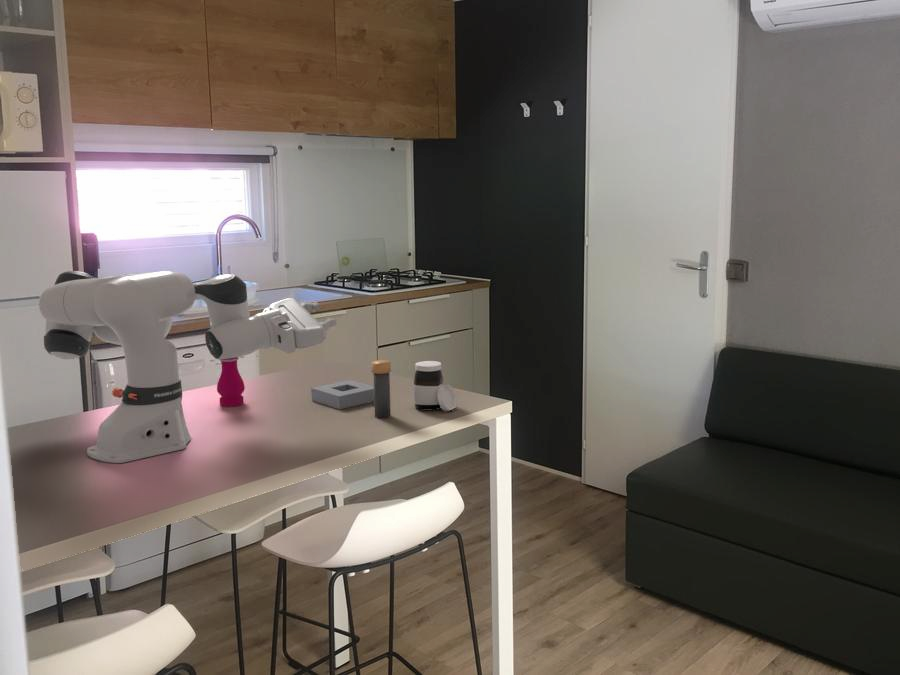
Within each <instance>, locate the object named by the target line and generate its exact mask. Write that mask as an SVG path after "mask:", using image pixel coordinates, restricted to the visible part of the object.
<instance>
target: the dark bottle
mask: <svg viewBox="0 0 900 675" xmlns="http://www.w3.org/2000/svg"><path fill="white" fill-rule="evenodd" d="M391 368H392V362H391V361H390V360H388V359H387V360H386V359H379V360H374V361H372V362H371V373H373V386H374V405H373V406H374V417H375V418H376V417H377V418H376V419H387V418H386V417H389V416H390V415H391V416H392V414H391V385H390V384H391V383H390V382H391V379H390V376H391V375H390V373H391V372H392V369H391ZM391 416H390V417H391ZM390 417H389V418H390Z"/></svg>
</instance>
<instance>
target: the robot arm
mask: <svg viewBox="0 0 900 675" xmlns="http://www.w3.org/2000/svg"><path fill="white" fill-rule="evenodd" d="M247 293H248V291H247V284H246V282H244V280H242V279H241V278H240V277H238V276H237V275H235V274H233V273H226V274H225V273H224V274H220V275H216V276H213V277H210V278H206V279H201V280H195V281H192V280H191V279H190V278H189V277H188V275H186V274H184V273H182V272H179V271H178V272H176V271H169V270H168V271H167V270H160V271H149V272H141V273H132V274H124V275H113V276H112V275H111V276H104V277H95V276H93V275H91V274H89V273H87V272H85V271H84V272H83V271H81V270H80V271H78V270H74V271H73V270H72V271H71V270H70V271H64V272H61V273H60V274H59V275H57V278H56V280H55V282H54V285H51V286H48V287H47V288H46V289H45V290H44V291H42V293H41V294H40V297H39V300H38V301H39V302H38V307H39V311H40V313H41V316H42V317H43V319H45V320H46V321H45V335H44V336H43V346H44V350H45V351H46V352H47V353H48V354H49V355H51V356H54V357H55V358H58V359H60V360H68V361H69V360H75V359H81V358H83V357H85V356H86V355H87V353H88V352H89V350H90V347H91V344H92V343H91V341H92V340H91V339H92V336H93V334H94V335H95V336H96V337H97V338H98V339H99V340H100V341H101V342H104V343H110V344H114V345H119V346H121V347H122V349H123V354H124V360H125V368H126V369H125V370H126V377H127V383H126V386H125V388H124V389H122V388H119V387H114V388H113V389H112V391H111V395H112V396H113V397H115V398H118V399H119V398H121V403H120V404H118V406H117V407H116V408H115V409H114V410H113V411H112V412H111V413H110V414H109V415H108V416H107V417H106V418H105V419H104V420H103V421H102V422H101V423H100V424H99V426H98V430H97V437H96V439H97V440H96V444H94V445H92V446H89V447H87V449H86V455H87V456H89V457H90V458H92V459H94V460H97V461H101V462H104V463H113V464H121V463H122V464H123V463H128V462H132V461H136V460H141V459H146V458H151V457H154V456H158V455H163V454H167V453H171V452H175V451H180V450H181V451H182V450H184V449H186V448H187V444H188V443H189V442H190V441H191V440H192V437H191V434H190V432H189V430H188V426H187V423H186V419H185V418H186V417H185V415H184V410H183V405H182V404H183V403H182V399H183V388H182V380H181V379H180V374H179V373H180V372H179V363H178V350H177V347H176V345H175V344H174V343H173V342H172V341H170V340H168V339H166V337H167V336H168V334H169V332H170V330H171V328H172V325H173V322H174V321H173V320H174V318H177V317H178V316H180V315H183V313H186V312H187V311H189V310H190V309H191V308H192V307H193V306H194V304H195V301H197V300H202V301H203V302H204V303H205V305H206V307H207V312H208V317H209V322H210V324H209V325H210V328H209V329H208V330H206V332H205V335H204V337H205V344H206V348H207V349H208V351H209V353H210V355H211V356H212V357H213V358H214V359H215V360H219V359H229V358H235V357H238V358H240V357H243V356H247V355H251V354H254V353H255V352H256V351H258V350H268V349H272V348H274V349H277V350H280V351H282V352H284V353H286V354H293V353H295V352H296V349H298V350H301V349H302V350H303V349H307V348H311V347H313V346H317V345H319V344H323V342H324V341H326V340H327V339H326V338H327V335H326V332H327V330H329V328H331V327H335V326H336V325H337V320H336V319H335V317H333V316H331V317H327V318H326V320H325V321H324V322H323V321H318V320H317V319H316V318H315V316H313V315H312V314H311V313H310V312H311V311H313V312H315V313H316V312H317V311H318V312H319V311H320V310H321V305H320V303H319V302H317V301H316V302H312V303H311V302H302V303H301V302H299V301H298V300H297V299H296V298H294V297H289V298H288V297H287V298H284V299H281V300H278V301H275V302H273V303H270V305H269V306H267V307H266V308H265V307H264V308H263V309H264V310H263V311H262V312H259V313H258V312H257V313H256V314H254V315H252V316H251V314H250V308H249V303H248V294H247Z"/></svg>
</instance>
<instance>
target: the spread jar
mask: <svg viewBox="0 0 900 675" xmlns="http://www.w3.org/2000/svg"><path fill="white" fill-rule="evenodd" d="M414 365H415V367H414V368H415V372H414V375H413V403H414V407H415V408H416V409H417V408H419V409H418V410H420V409H437V408H440V407H441V408H440V409H441V410H443V411H445V412H451V411H450V410H449V408H452V409H453V408H455V409H456V407H457V405H458V404H457V403H458V398H457V394H456V391H455V389H454V388H453V387H452V385H449V384H444V373H443V371H442V363H441V362H440V361H436V360H435V361H434V360H425V361H419V362H418V361H417V362H416V363H415V364H414ZM437 410H438V409H437Z"/></svg>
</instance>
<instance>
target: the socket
mask: <svg viewBox="0 0 900 675" xmlns="http://www.w3.org/2000/svg"><path fill="white" fill-rule="evenodd" d="M310 389H311V390H310V391H311V393H310V394H311V401H312V402H316V403H319V404H322V405H325V406H328V407H331V408H335V409H338V410H342V409H347V407H348V408H351V406H352V407H356V406H360V405H359V404H361V405H365V404H369V403H373V402H372V401H374V385H370V384H366V383H362V382H359V381H356V380H351V379H349V380H344V381H338V382H335V383H328V384H324V385H323V384H322V385H319V386H315V387H314V386H313V387H311V388H310ZM368 402H369V403H368ZM364 403H365V404H364Z"/></svg>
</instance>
